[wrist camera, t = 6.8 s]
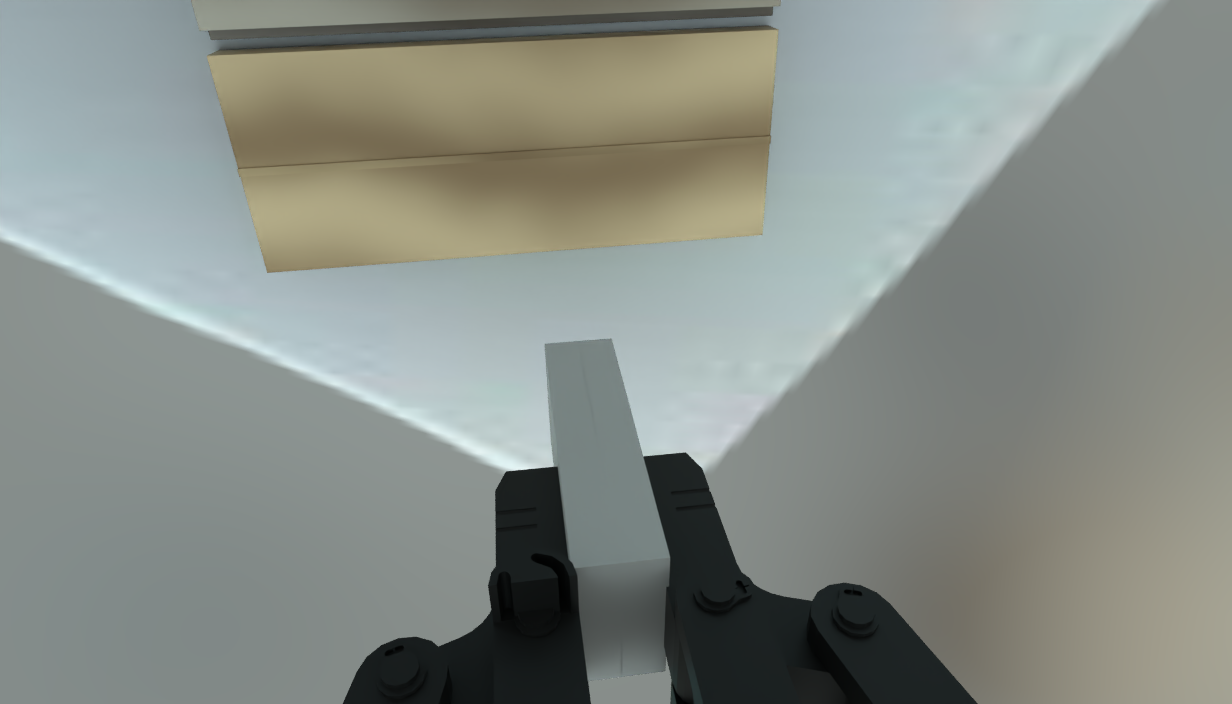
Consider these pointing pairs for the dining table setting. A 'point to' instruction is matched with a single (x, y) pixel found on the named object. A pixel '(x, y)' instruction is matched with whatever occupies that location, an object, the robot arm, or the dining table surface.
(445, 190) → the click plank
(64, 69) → the dining table surface
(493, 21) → the laid floor
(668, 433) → the dining table surface
